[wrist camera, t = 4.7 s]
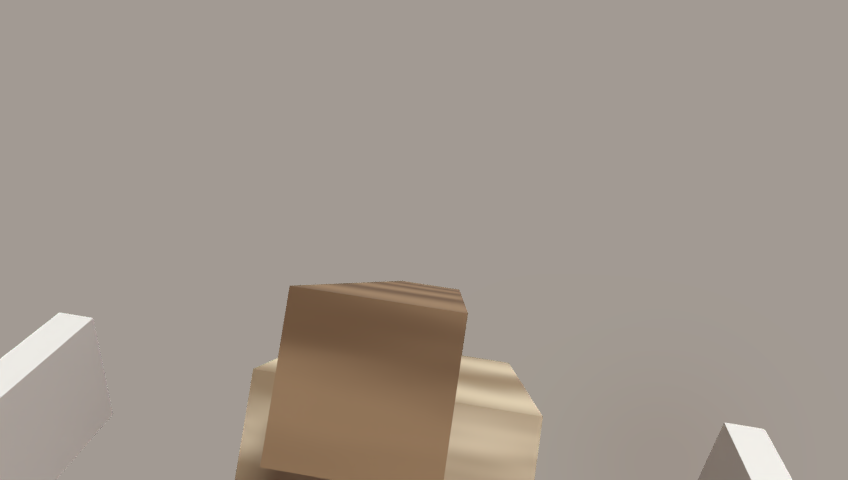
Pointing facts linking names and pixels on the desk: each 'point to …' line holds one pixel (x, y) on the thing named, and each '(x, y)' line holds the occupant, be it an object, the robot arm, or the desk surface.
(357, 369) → the walnut bar
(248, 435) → the birch stand
